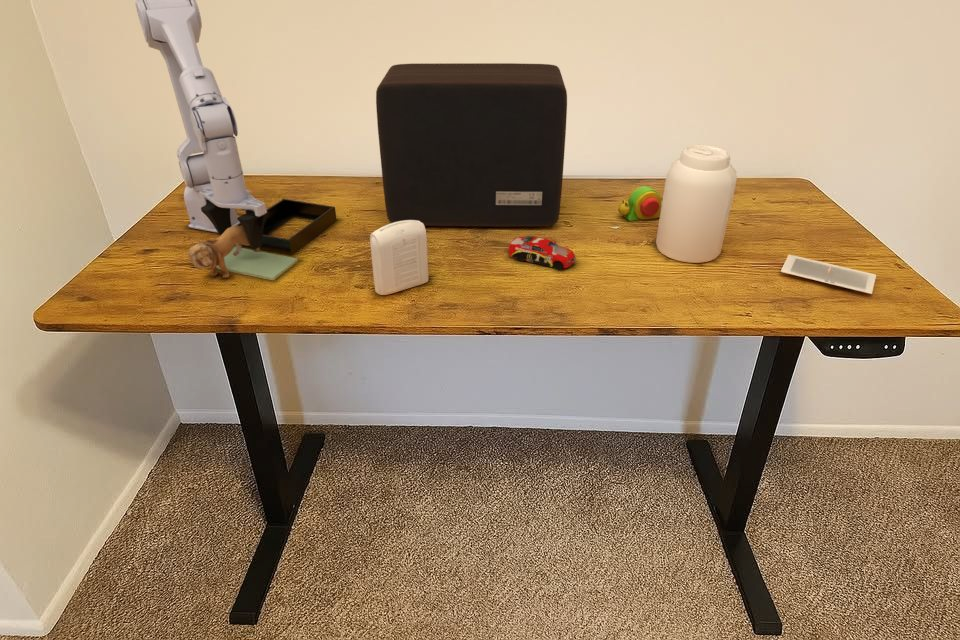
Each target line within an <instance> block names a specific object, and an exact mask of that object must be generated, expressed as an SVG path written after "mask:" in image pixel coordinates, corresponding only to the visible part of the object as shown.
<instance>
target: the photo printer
mask: <svg viewBox="0 0 960 640" xmlns="http://www.w3.org/2000/svg"><path fill="white" fill-rule="evenodd" d="M427 235H428V234H427V230H426V226H424V224H423V223H421V222H420V221H417V220H404V221H398V222H394V223H391V222H390V223H388V224H385V225H383V226H381V227H379V228H377V229H375V230H374V231H373V232H371V234H370V236H369V245H370V253H371V255H370V256H371V267H372V276H373V285H374V291H375V293H376V294H377V295H380V296H388V295H391V294H394V293H398V292H402V291H405V290H408V289H411V288H414V287H418V286H422V285H423V284H426V283H428V282H429V260H428V259H429V257H428V237H427Z"/></svg>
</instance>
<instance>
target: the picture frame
mask: <svg viewBox="0 0 960 640" xmlns="http://www.w3.org/2000/svg"><path fill="white" fill-rule="evenodd" d="M266 209H267V210H268V213H269V214H268V216H267V218H266V221H265V224H264V229H263V237H262V246H260V250H261V251H265V252H269V253H270V252H271V253H275V254H280V255H281V254H282V255H285V256H293V255H294V254H296V253H297V252H299V251H300V250H302V249H303V248H304V247H305V246H307V245H308V244H309V243H310V242H312V241H313V240H314V239H316V237H318V236H319V235H320V234H322V233H323V232H324V231H326V230H327V229H328V228H330V227H331V226H332V225H334V224H335V223H337V221H338V218H337V212H336V211H337V210H336V207H335V206H333V205H326V204H320V203H313V202H306V201H301V200H294V199H289V198H282V199H281V200H279V201H278V202H276V203H275V204H272V205H271V206H270V207H268V208H266ZM293 218H298V219H304V220H309V221H311V222H310V223H309V224H307V225H305V226H303V228H301V229H300V230H298V231H297V232H296V233H295V234H292V236H291V237H289V238H284V237H279V236H273V235H270V234H271V233H273V232H275V231H276V230H278V228H280V227H282V226H283V225H284V224H286V223H287V222H289V221H290V220H291V219H293ZM241 226H242V225H241ZM242 227H243V226H242ZM241 245H242V244H241ZM242 247H243V248H248V249H252V248H251V247H250V246H246V245H242ZM260 250H259V251H260Z"/></svg>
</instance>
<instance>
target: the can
mask: <svg viewBox="0 0 960 640" xmlns="http://www.w3.org/2000/svg"><path fill="white" fill-rule="evenodd" d="M737 182H738V175H737V171H736V168H735V167H734V166H733V165H732V164H731V155H730V153H729V151H727V150H725V149H722V148H720V147H717V146H712V145H704V144H703V145H702V144H698V145H691V146H686V147H685V148H683V150H682V151H681V153H680V157H679V158H677V159H676V160H674V161H673V162H672V163H670V166H669V168H668V171H667V173H666V176H665V182H664V189H663V195H662V199H661V205H662V207H661V213H660V218H659V220H658V225H657V232H656V238H655V239H656V240H655V244H656V248H657V250H658V251H659V252H660V253H661V254H662V255H664V256H665V257H667V258H669V259H672V260H674V261H677V262H683V263H689V264H691V263H692V264H693V263H695V264H700V263H701V264H702V263H707V262H711V261H714V260H715V259H717V258H718V257H719V255H720V254H721V252H722V249H723V248H722V247H723V244H724V239H725V234H726V230H727V227H728V221H729V217H730V213H731V208H732V204H733V199H734V195H735V191H736V187H737Z"/></svg>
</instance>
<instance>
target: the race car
mask: <svg viewBox="0 0 960 640" xmlns="http://www.w3.org/2000/svg"><path fill="white" fill-rule="evenodd" d="M507 253H508V256H510V257H511V258H513V259H516V260H517V261H518V262H522V263H523V262H524V261H525V262H529V263H534V264H538V265H543V266H546V267H553V268H554V269H555V270H556V271H561V270H562V269H567V268H570V267H572V266H574V265H575V263H576V256H575V252H574V251H573V250H571V249H570V248H567V247H565V246H563V245H562V246H561V245H559V244H557V242H556V241H553V240H551V239H549V238H545V237H541V236H533V235H532V236H531V235H526V236H518V237H515V238H513V239H512V240H511V241H510V243H509V246H508V248H507Z"/></svg>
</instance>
